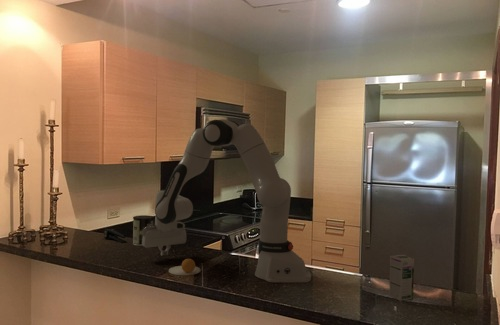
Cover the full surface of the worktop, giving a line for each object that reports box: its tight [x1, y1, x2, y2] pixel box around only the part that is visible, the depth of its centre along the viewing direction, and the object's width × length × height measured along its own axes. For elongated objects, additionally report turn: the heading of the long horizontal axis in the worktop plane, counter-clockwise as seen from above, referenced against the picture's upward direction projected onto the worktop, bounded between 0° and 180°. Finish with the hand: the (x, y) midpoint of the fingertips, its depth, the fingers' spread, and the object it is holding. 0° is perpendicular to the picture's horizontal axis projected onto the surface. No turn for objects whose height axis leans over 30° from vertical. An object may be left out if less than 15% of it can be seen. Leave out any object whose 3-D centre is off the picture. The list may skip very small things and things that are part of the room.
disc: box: [168, 265, 201, 276], centre depth 167 cm, size 13×13×1 cm
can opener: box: [103, 228, 127, 244], centre depth 218 cm, size 18×7×6 cm, turn 48°
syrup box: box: [388, 254, 415, 302], centre depth 142 cm, size 6×6×14 cm
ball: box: [181, 258, 196, 273], centre depth 164 cm, size 6×6×6 cm
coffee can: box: [132, 214, 155, 247], centre depth 211 cm, size 10×10×14 cm
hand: (164, 255), depth 184 cm, fingers closed
